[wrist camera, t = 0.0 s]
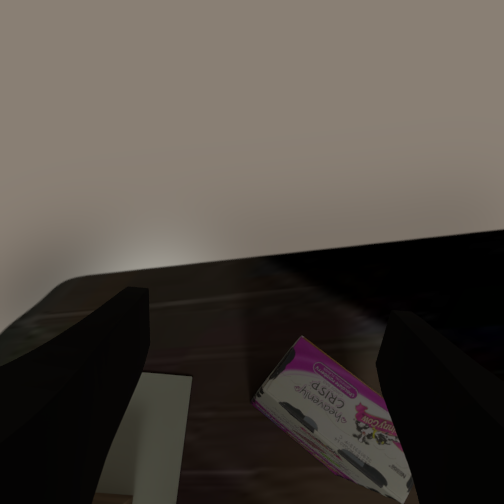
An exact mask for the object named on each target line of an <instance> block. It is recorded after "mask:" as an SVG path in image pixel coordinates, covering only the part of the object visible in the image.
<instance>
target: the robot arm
mask: <svg viewBox="0 0 504 504" xmlns="http://www.w3.org/2000/svg"><path fill="white" fill-rule="evenodd" d="M149 346H150V327H149V288H138V287H127V288H125V289H124V290H122V291H121V292H119V293H118V294H117V295H115V296H114V297H113V298H111V299H110V300H109V301H107V302H106V303H105V304H103V305H102V306H101V307H99V308H98V309H97V310H95V311H94V312H92V313H91V314H90V315H88V316H87V317H85V318H84V319H83V320H81V321H80V322H78V323H77V324H75V325H73V326H72V327H70V328H69V329H67V330H66V331H64V332H63V333H61V334H60V335H58V336H56V337H55V338H53V339H52V340H50V341H48V342H47V343H45V344H43V345H42V346H40V347H38V348H36V349H34V350H33V351H31V352H29V353H27V354H25V355H23V356H21V357H19V358H17V359H15V360H13V361H11V362H9V363H7V364H5V365H3V366H1V367H0V504H92V501H93V498H94V495H95V492H96V489H97V485H98V482H99V479H100V476H101V473H102V470H103V467H104V463H105V460H106V457H107V455H108V452H109V450H110V447H111V444H112V442H113V439H114V437H115V435H116V433H117V430H118V428H119V426H120V423H121V421H122V419H123V416H124V414H125V412H126V409H127V407H128V405H129V402H130V400H131V398H132V395H133V393H134V391H135V388H136V386H137V384H138V381H139V379H140V376H141V374H142V371H143V367H144V364H145V360H146V357H147V353H148V349H149ZM376 368H377V373H378V378H379V382H380V387H381V391H382V395H383V398H384V401H385V403H386V406H387V409H388V412H389V415H390V417H391V420H392V423H393V425H394V428H395V431H396V433H397V436H398V439H399V441H400V444H401V447H402V449H403V452H404V455H405V458H406V460H407V463H408V466H409V469H410V472H411V475H412V478H413V481H414V484H415V488H416V492H417V495H418V499H419V503H420V504H504V382H503V381H502V380H500V379H499V378H498V377H496V376H495V375H493V374H492V373H491V372H489V371H488V370H486V369H485V368H484V367H482V366H481V365H480V364H478V363H477V362H476V361H474V360H473V359H472V358H470V357H469V356H468V355H466V354H465V353H464V352H463V351H461V350H460V349H459V348H458V347H456V346H455V345H454V344H453V343H451V342H450V341H449V340H448V339H446V338H445V337H444V336H443V335H441V334H440V333H439V332H438V331H436V330H435V329H434V328H433V327H431V326H430V325H429V324H428V323H426V322H425V321H424V320H422V319H421V318H420V317H418V316H417V315H416V314H414V313H413V312H407V311H396V310H391V313H390V317H389V320H388V323H387V327H386V330H385V334H384V337H383V340H382V344H381V347H380V350H379V354H378V357H377V361H376Z"/></svg>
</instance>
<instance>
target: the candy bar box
mask: <svg viewBox="0 0 504 504" xmlns="http://www.w3.org/2000/svg"><path fill="white" fill-rule="evenodd" d="M250 403H251V404H252V405H253V406H254V407H256V408H257V409H258V410H259V411H260V412H262V413H263V414H264V415H265V416H266V417H268V418H269V419H270V420H271V421H272V422H273V423H275V424H276V425H277V426H278V427H279V428H281V429H282V430H283V431H284V432H285V433H287V434H288V435H289V436H290V437H291V438H293V439H294V440H295V441H296V442H297V443H299V444H300V445H301V446H302V447H303V448H305V449H306V450H307V451H308V452H309V453H311V454H312V455H313V456H314V457H315V458H317V459H318V460H319V461H320V462H321V463H323V464H324V465H325V466H326V467H327V468H328V469H330V470H331V471H332V472H333V473H334V474H336V475H337V476H340V477H342V478H345V479H347V480H350V481H352V482H354V483H356V484H359V485H361V486H364V487H366V488H368V489H370V490H373V491H375V492H378V493H380V494H382V495H384V496H387V497H389V498H392V499H394V500H396V501H398V502H400V503H402V504H404V502H405V500H406V498H407V496H408V494H409V491H410V490H411V488H412V486H413V484H414V481H413V478H412V475H411V472H410V469H409V466H408V463H407V460H406V458H405V455H404V452H403V449H402V447H401V444H400V441H399V439H398V436H397V433H396V431H395V428H394V425H393V423H392V420H391V417H390V415H389V412H388V409H387V406H386V403H385V401H384V398H383V397H382V396H381V395H380V394H378V393H377V392H376V391H374V390H373V389H372V388H370V387H369V386H368V385H366V384H365V383H364V382H362V381H361V380H360V379H358V378H357V377H356V376H355V375H353V374H352V373H351V372H349V371H348V370H347V369H346V368H344V367H343V366H342V365H340V364H339V363H338V362H336V361H335V360H334V359H333V358H331V357H330V356H329V355H327V354H326V353H325V352H324V351H322V350H321V349H320V348H318V347H317V346H316V345H314V344H313V343H312V342H310V341H309V340H308V339H307V338H305V337H304V336H302V335H301V336H300V337H299V338H298V340H297V341H296V342H295V343H294V345H293V346H292V347H291V348H290V350H289V351H288V352H287V353H286V355H285V356H284V357H283V358H282V360H281V361H280V362H279V363H278V365H277V366H276V367H275V369H274V370H273V371H272V373H271V374H270V375H269V376H268V378H267V379H266V380H265V381H264V383H263V384H262V386H261V387H260V388H259V390H258V391H257V392H256V394H255V395H254V397H253V398H252V399H251V401H250Z"/></svg>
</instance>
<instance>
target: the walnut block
mask: <svg viewBox="0 0 504 504" xmlns="http://www.w3.org/2000/svg"><path fill="white" fill-rule="evenodd" d="M132 501H133V495H122V494H109V493H96V492H95V495H94V498H93V501H92V504H132Z"/></svg>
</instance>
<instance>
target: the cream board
mask: <svg viewBox="0 0 504 504" xmlns="http://www.w3.org/2000/svg"><path fill="white" fill-rule="evenodd" d="M191 384H192V377H191V376H179V375H168V374H156V373H144V372H142V374H141V376H140V379H139V381H138V384H137V386H136V388H135V391H134V393H133V395H132V398H131V400H130V402H129V405H128V407H127V409H126V412H125V414H124V416H123V419H122V421H121V423H120V426H119V428H118V430H117V433H116V435H115V437H114V439H113V442H112V444H111V447H110V450H109V452H108V455H107V457H106V460H105V463H104V467H103V470H102V473H101V476H100V479H99V482H98V485H97V489H96V493H109V494H122V495H133V501H132V504H176V500H177V493H178V485H179V477H180V469H181V462H182V454H183V446H184V438H185V431H186V423H187V415H188V407H189V400H190V392H191Z"/></svg>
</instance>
